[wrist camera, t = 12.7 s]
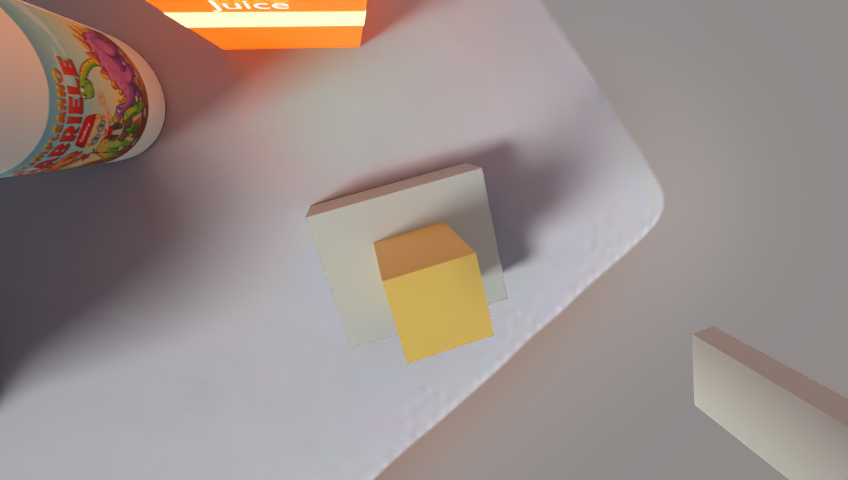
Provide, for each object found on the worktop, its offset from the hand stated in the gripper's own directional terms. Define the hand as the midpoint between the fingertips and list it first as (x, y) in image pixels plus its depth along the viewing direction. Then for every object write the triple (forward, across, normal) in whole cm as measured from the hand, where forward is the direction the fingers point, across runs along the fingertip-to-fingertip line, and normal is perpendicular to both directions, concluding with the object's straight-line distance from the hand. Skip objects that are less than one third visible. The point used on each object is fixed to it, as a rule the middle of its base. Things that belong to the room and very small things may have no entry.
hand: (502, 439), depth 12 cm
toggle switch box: (+20, 0, 0) cm, 20 cm away
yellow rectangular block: (+16, 0, 0) cm, 16 cm away
